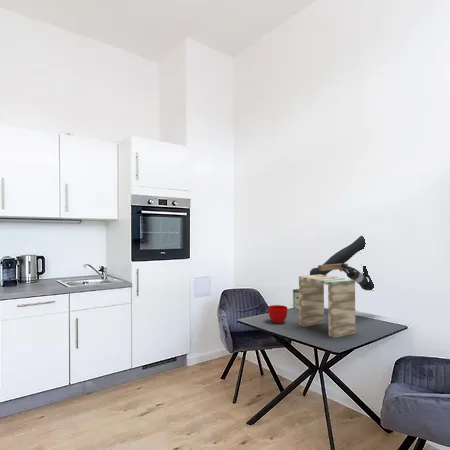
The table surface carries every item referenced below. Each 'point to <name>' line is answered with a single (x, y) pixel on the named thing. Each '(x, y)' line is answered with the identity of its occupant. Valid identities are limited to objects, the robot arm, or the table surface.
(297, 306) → the coffee can
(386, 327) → the table surface
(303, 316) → the bench
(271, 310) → the ceramic cup
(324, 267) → the batten
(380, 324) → the table surface
